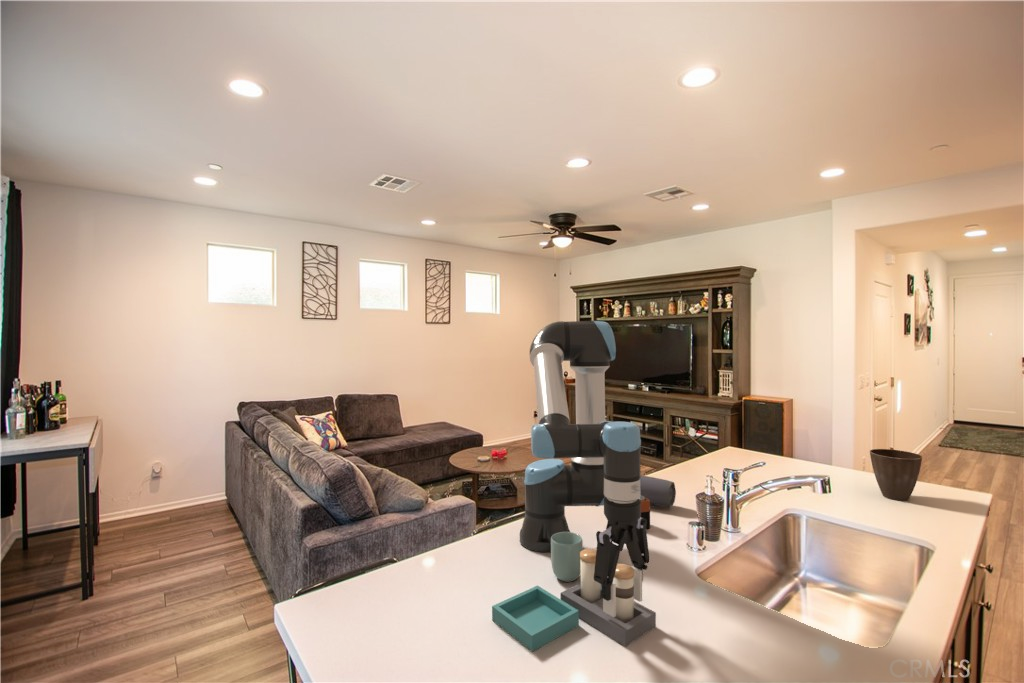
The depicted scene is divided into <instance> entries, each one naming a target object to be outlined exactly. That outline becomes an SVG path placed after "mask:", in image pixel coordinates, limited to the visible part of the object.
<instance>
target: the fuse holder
mask: <svg viewBox="0 0 1024 683" xmlns="http://www.w3.org/2000/svg"><path fill="white" fill-rule="evenodd" d="M560 600H562V601H564V602H565V603H567V604H569V605H570V606H572V607H573V608H575V609H577V610H578V611H579V620H580V619H581V620H582V621H584V622H585V623H587V624H588V625H590V626H591V627H593V628H594V629H596V630H598V632H599V631H600V632H601V633H603V634H604V635H606V636H607V637H609V638H611V640H614V641H616V643H619V645H622V646H623V647H625V648H626V647H627V646H629V645H631V644H632V643H633V642H635V641H636V640H638V639H639V638H641V637H642V636H644V635H646V633H648V632H650V631H651V630H653V629H655V628H656V627H657V613H656V611H654V610H652V609H650V608H649V607H646V606H645V605H643V604H641V603H639V602H638V601H635V600H634V619H632V620H630V621H629V622H627V623H626V624H625V623H624V622H622V621H620V620H618V619H617V618H615V617H612V616H610V615H609V614H607V613H605V612H603V598H602V584H601V599H600V600H598V601H596V602H594V603H592V604H591V603H589V602H588V601H586V600H584V599H582V598H581V582H580V583H578V584H576V585H573V586H572V587H569V588H568V589H566V590H563V591H562V592H560Z"/></svg>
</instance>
